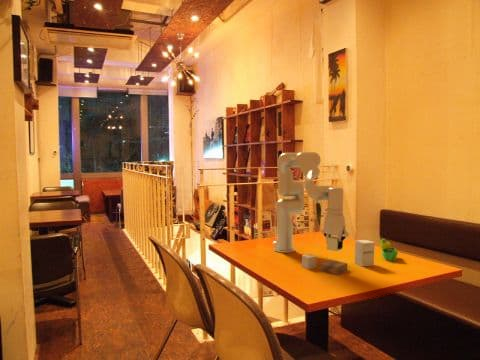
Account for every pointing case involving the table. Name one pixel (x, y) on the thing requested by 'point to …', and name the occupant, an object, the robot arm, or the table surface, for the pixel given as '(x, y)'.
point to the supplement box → (364, 252)
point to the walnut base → (333, 267)
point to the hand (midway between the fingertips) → (334, 247)
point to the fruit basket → (388, 250)
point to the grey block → (309, 261)
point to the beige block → (333, 243)
